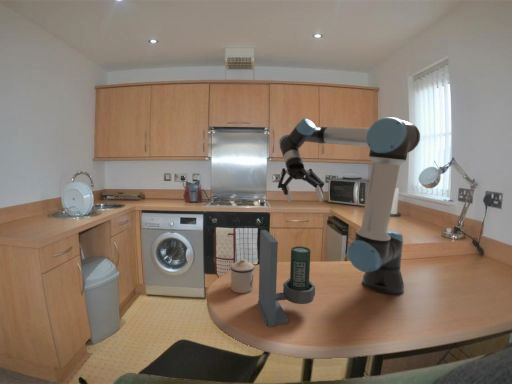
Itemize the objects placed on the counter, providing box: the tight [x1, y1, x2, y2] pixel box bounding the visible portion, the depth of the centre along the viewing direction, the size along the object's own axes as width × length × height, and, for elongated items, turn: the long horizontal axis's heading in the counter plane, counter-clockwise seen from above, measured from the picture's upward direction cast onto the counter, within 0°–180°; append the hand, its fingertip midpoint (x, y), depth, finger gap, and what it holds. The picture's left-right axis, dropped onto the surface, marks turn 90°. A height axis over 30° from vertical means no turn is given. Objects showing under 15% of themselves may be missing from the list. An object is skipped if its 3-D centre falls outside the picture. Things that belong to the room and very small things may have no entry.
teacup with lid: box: [230, 258, 255, 294], centre depth 104 cm, size 12×9×12 cm
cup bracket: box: [257, 229, 316, 328], centre depth 86 cm, size 17×14×26 cm
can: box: [289, 245, 312, 291], centre depth 87 cm, size 6×6×15 cm
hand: (306, 200), depth 106 cm, fingers open, 13 cm apart
